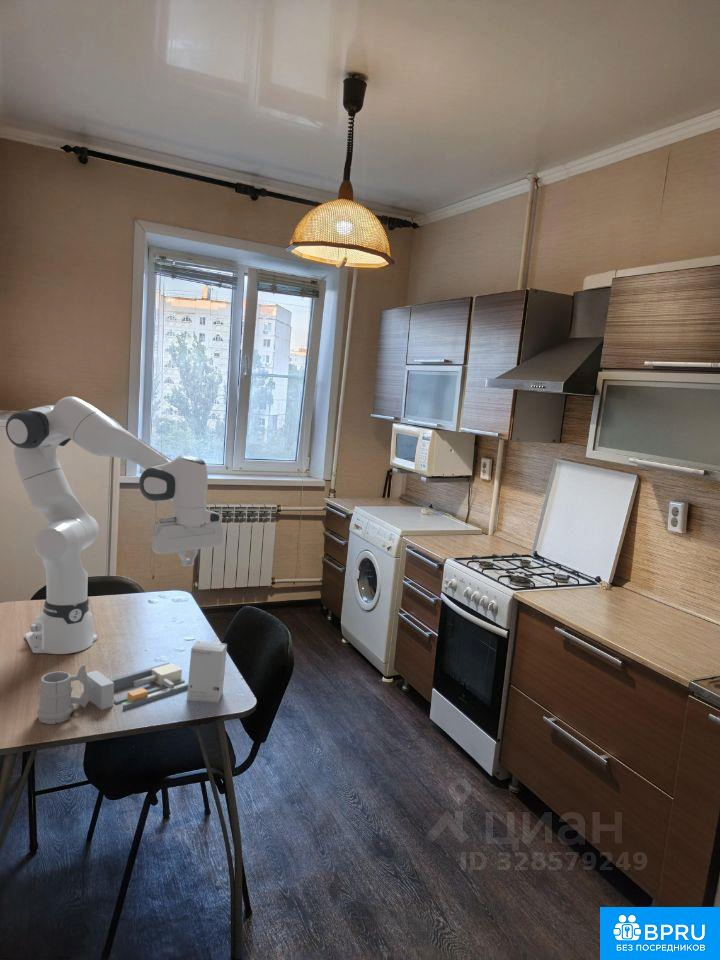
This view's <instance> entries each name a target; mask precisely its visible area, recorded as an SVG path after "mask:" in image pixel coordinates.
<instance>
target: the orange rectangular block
mask: <svg viewBox="0 0 720 960" xmlns="http://www.w3.org/2000/svg"><path fill="white" fill-rule="evenodd" d="M147 690H148V689H145V688H144V687H139V688H136V689H133V690H130V691H127V696H126V697H127V701H128V702H129V703H130V702H133V701H136V700H139V699H142V698H145V697H148V691H147Z"/></svg>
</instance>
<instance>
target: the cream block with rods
mask: <svg viewBox="0 0 720 960" xmlns="http://www.w3.org/2000/svg"><path fill="white" fill-rule="evenodd" d="M182 672H183V669H182V668H180V667H179V666H177V665H176V664H174V663H172V662H171V663H170V664H167V665H164V666H160V667H157V668H153V669H152V673H151V676H149V677H146V678H142V679H139V680H136V681H134V685H133V687H135V688H138V687H141V686H144V685H147V684H150V683H153V682H154V683H155V684H157V685H159V686H162V685H165V686H167V687H168V688H170V689H173V688H174V683H172V682H175V681H178V680H181V679H182V677H183V676H182V674H183V673H182Z"/></svg>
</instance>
